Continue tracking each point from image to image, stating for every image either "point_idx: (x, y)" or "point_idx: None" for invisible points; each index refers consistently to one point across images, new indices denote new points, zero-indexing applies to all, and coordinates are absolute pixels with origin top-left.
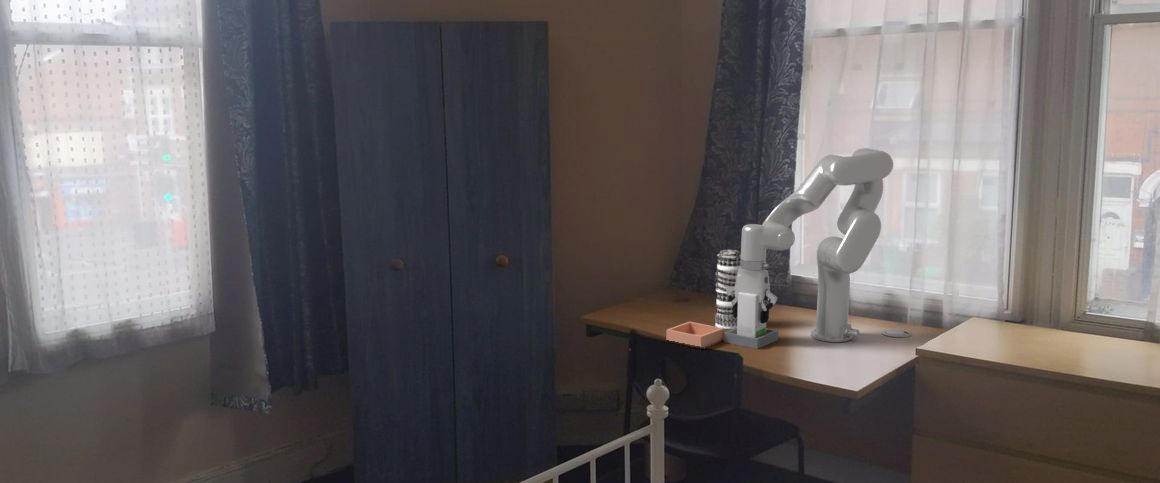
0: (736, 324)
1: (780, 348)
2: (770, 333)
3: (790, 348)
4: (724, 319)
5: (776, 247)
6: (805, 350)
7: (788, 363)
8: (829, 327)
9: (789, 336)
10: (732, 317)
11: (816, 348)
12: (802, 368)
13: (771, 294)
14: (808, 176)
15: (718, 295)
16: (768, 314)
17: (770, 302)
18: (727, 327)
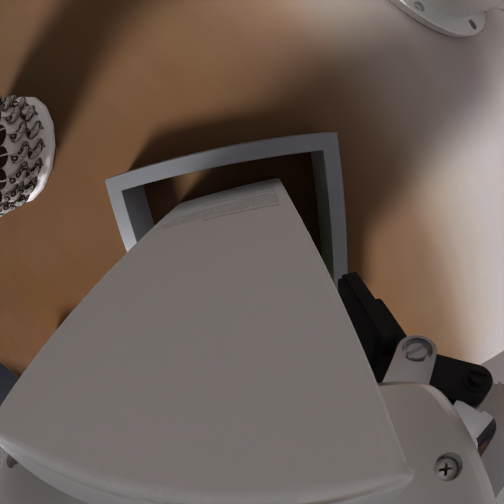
0: (42, 147)
1: (398, 237)
2: (340, 219)
3: (425, 207)
4: (12, 207)
5: None
6: (467, 189)
7: (457, 331)
8: (485, 8)
9: (313, 36)
10: (15, 177)
11: (479, 138)
12: (484, 329)
13: (499, 476)
14: None
15: None
16: (394, 325)
17: (464, 420)
18: (40, 186)
